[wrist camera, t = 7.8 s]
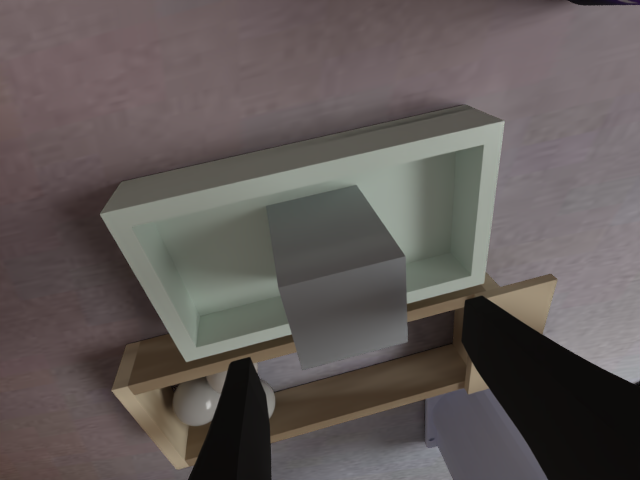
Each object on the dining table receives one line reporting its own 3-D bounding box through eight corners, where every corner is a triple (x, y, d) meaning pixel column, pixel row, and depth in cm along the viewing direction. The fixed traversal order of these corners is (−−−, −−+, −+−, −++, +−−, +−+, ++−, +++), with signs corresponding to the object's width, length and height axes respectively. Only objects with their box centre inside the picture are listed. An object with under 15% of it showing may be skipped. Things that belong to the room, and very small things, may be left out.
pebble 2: (261, 357, 23) (264, 398, 21) (216, 369, 23) (213, 412, 21) (249, 325, 22) (251, 366, 19) (199, 338, 21) (195, 381, 19)
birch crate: (499, 337, 27) (530, 376, 24) (182, 425, 25) (175, 478, 23) (515, 244, 22) (557, 279, 19) (126, 344, 21) (108, 399, 18)
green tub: (455, 252, 22) (484, 283, 19) (192, 319, 21) (186, 362, 18) (465, 104, 17) (505, 120, 14) (121, 181, 16) (99, 213, 13)
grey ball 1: (231, 385, 24) (230, 428, 22) (186, 397, 24) (180, 442, 22) (216, 356, 23) (214, 399, 20) (169, 369, 22) (160, 414, 20)
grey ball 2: (277, 389, 25) (282, 430, 23) (235, 401, 25) (235, 444, 23) (267, 363, 24) (271, 404, 21) (222, 375, 24) (220, 418, 21)
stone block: (364, 257, 20) (407, 342, 15) (285, 277, 19) (302, 370, 14) (356, 184, 17) (405, 256, 12) (265, 205, 17) (278, 288, 12)
